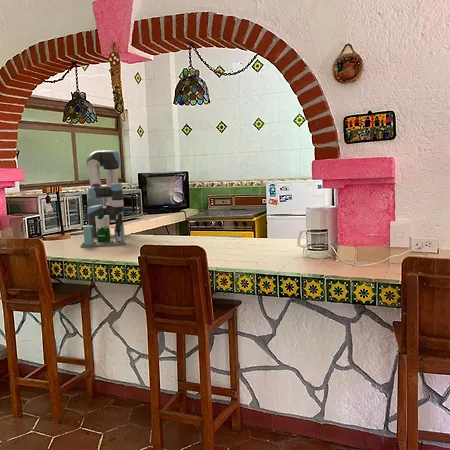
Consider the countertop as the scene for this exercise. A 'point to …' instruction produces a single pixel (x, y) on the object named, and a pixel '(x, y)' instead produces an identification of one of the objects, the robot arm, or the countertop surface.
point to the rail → (104, 244)
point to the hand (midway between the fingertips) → (120, 240)
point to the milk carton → (102, 227)
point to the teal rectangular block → (88, 235)
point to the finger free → (121, 233)
